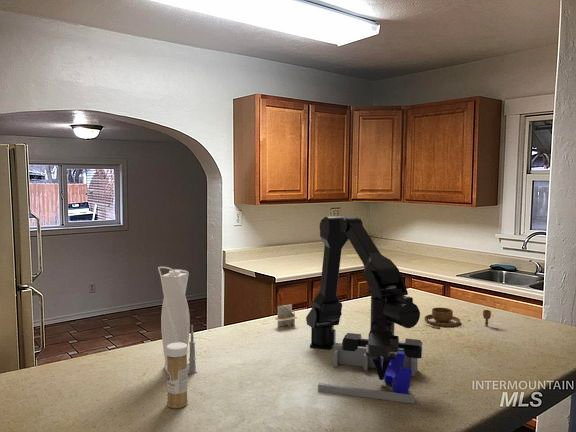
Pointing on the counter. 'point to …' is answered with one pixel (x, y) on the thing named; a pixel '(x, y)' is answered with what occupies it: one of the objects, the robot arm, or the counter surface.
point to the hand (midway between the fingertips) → (381, 379)
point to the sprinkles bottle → (177, 374)
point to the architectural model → (285, 315)
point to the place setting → (449, 317)
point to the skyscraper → (176, 314)
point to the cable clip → (398, 374)
